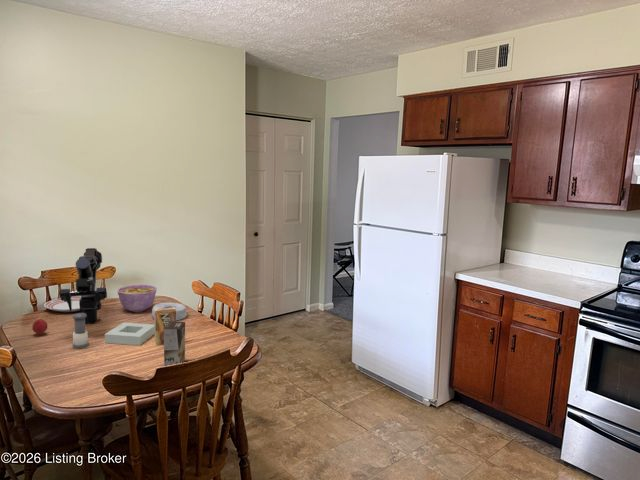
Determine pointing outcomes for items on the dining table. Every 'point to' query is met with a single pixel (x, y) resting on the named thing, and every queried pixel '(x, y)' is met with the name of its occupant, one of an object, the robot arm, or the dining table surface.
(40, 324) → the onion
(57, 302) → the dinner plate
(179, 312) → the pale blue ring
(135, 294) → the bowl of food
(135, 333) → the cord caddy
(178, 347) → the coffee box
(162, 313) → the candy box
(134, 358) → the dining table surface
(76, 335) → the pepper grinder
